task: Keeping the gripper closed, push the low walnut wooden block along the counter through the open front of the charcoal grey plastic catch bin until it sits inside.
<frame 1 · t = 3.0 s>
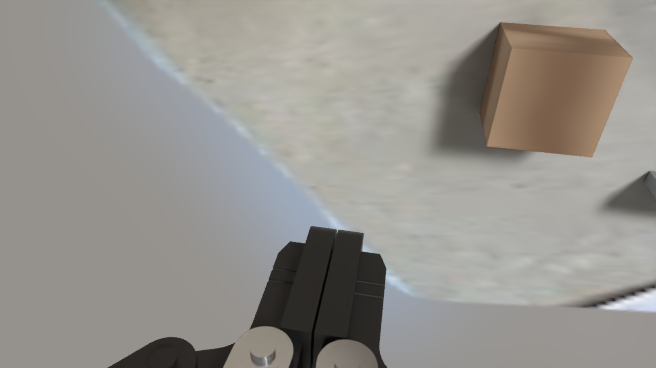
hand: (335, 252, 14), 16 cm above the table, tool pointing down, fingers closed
tile block: (537, 72, 25), on the table
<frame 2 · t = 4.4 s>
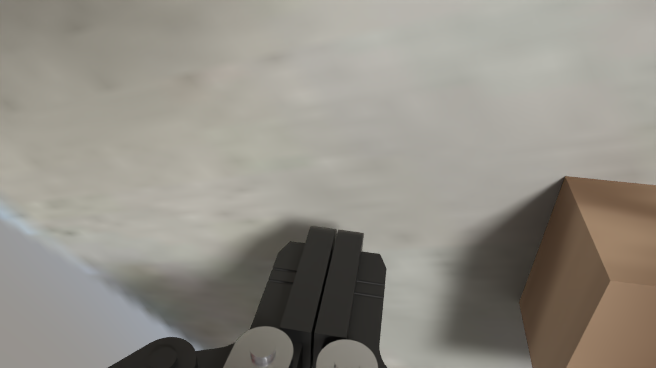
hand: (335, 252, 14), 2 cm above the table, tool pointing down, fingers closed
tile block: (627, 253, 14), on the table
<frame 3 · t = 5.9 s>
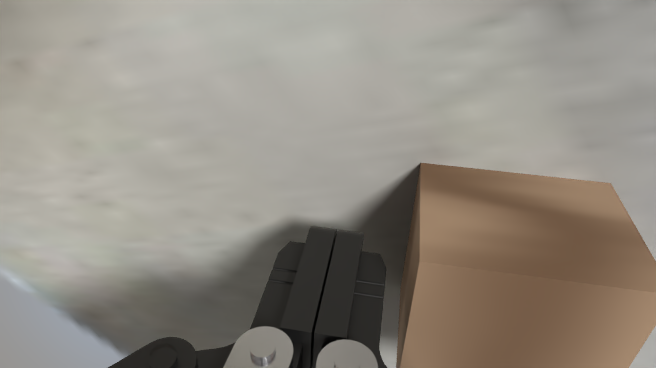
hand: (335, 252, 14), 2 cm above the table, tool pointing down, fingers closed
tile block: (492, 241, 14), on the table, touching gripper
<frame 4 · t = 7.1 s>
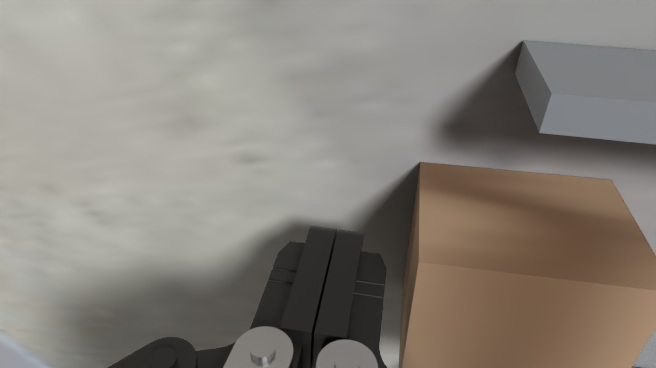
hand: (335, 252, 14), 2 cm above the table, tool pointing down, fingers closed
tile block: (494, 240, 14), on the table, touching gripper
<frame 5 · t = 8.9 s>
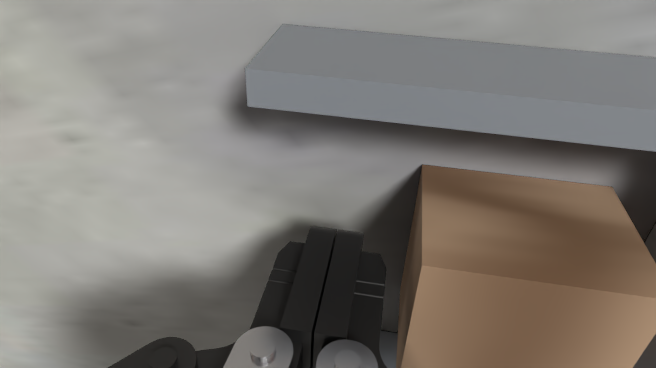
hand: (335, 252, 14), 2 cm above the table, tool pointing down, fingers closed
catch bin: (460, 234, 14), on the table
tile block: (493, 244, 14), on the table, touching gripper
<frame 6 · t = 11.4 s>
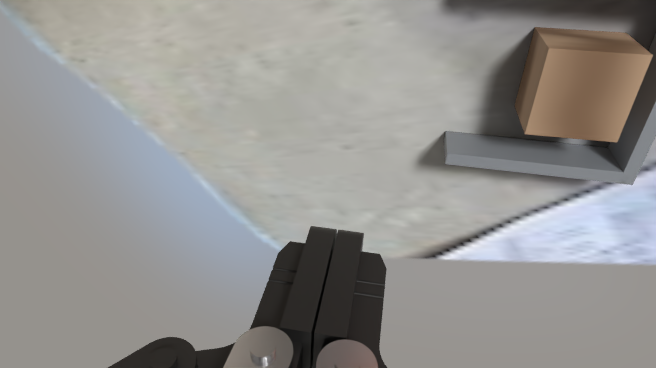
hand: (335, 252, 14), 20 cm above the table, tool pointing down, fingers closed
catch bin: (550, 67, 29), on the table
tile block: (566, 70, 29), on the table
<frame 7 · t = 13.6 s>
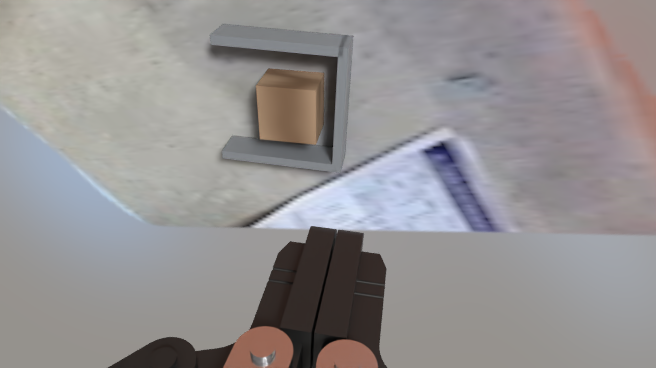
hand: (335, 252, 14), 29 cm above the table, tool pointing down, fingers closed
catch bin: (285, 93, 43), on the table
tile block: (297, 96, 43), on the table
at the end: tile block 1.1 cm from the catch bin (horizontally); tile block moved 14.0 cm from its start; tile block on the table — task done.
